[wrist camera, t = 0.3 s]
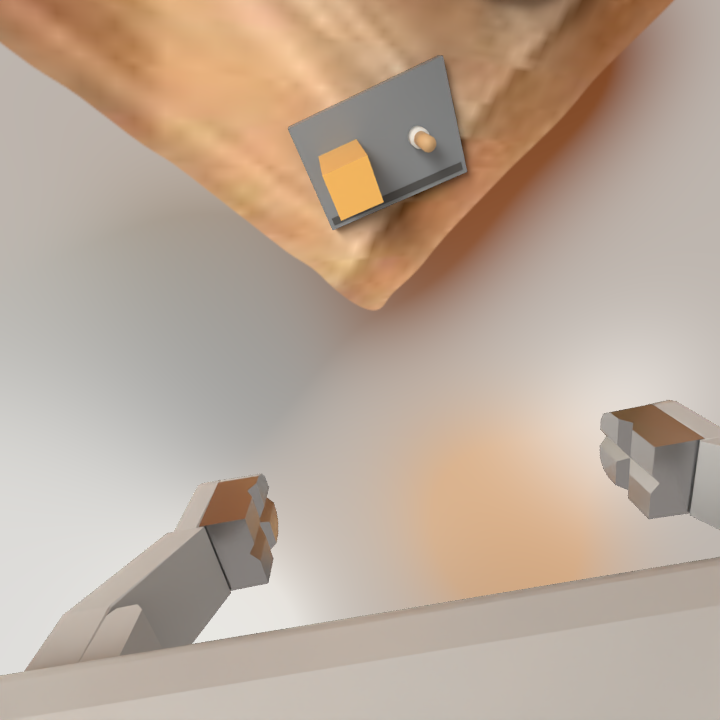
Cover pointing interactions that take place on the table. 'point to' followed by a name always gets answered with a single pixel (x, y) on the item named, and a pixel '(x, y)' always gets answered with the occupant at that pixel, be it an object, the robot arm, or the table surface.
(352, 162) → the tall orange brick
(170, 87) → the table surface
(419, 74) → the plate
